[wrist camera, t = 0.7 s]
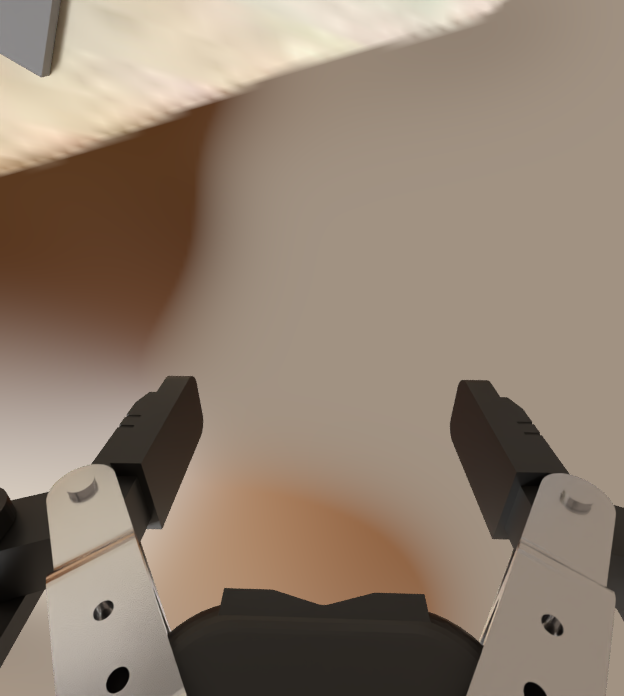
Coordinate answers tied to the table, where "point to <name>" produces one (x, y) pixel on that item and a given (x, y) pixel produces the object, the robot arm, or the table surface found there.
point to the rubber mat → (29, 33)
